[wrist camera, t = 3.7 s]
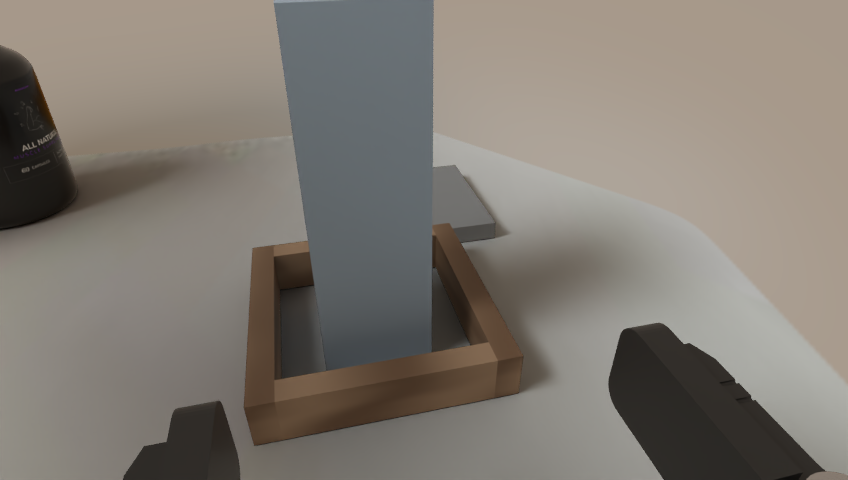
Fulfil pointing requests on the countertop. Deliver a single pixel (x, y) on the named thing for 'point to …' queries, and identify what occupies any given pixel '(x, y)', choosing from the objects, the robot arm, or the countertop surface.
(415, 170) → the slate block
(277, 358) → the well frame
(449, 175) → the charcoal mat
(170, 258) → the countertop surface
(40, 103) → the supplement bottle
